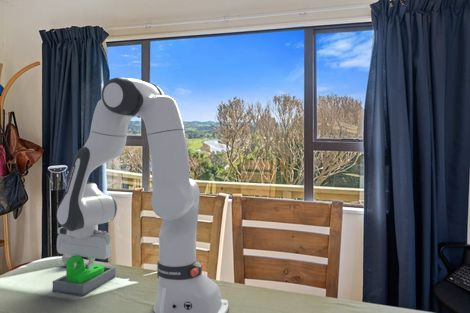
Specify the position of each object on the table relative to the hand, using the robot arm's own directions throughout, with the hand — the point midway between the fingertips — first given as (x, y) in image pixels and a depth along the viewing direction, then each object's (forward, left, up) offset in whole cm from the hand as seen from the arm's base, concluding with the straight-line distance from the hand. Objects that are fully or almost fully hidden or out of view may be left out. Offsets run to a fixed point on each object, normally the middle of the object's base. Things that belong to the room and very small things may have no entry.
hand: (84, 268), depth 120 cm
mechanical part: (-2, 0, -3) cm, 3 cm away
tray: (-1, 0, -6) cm, 6 cm away
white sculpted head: (+17, -13, -6) cm, 23 cm away
